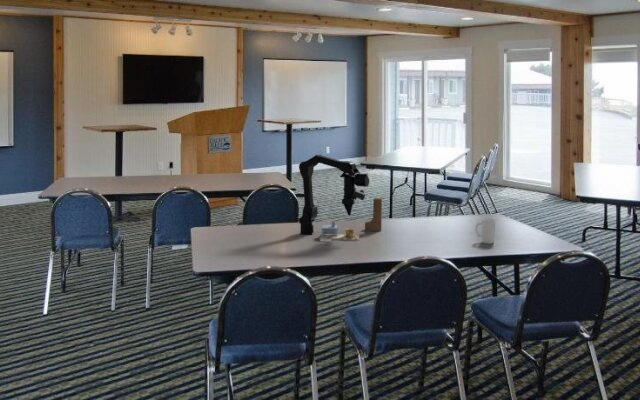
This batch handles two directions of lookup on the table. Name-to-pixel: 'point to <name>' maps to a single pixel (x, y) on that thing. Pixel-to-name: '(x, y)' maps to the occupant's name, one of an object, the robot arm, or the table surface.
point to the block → (349, 232)
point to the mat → (325, 240)
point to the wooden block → (375, 216)
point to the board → (338, 237)
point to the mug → (486, 230)
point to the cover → (329, 229)
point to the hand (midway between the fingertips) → (349, 215)
